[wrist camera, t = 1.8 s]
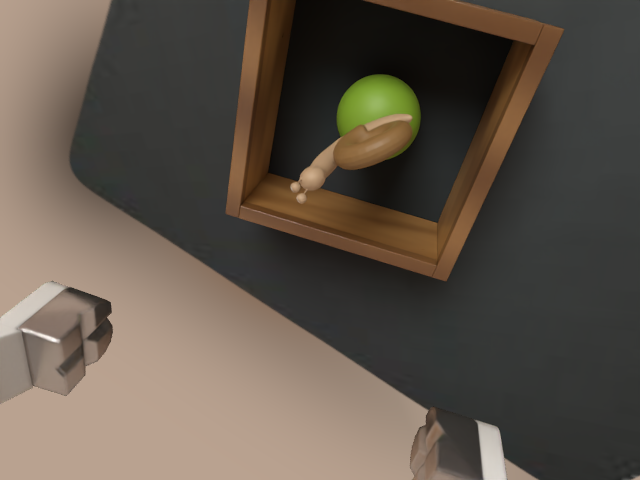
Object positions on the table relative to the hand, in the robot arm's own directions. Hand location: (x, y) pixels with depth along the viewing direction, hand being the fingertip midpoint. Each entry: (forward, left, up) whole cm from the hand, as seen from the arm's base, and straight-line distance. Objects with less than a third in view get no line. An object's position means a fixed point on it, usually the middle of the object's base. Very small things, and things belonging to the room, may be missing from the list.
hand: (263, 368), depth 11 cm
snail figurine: (0, 0, -25) cm, 25 cm away
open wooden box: (0, 0, -25) cm, 25 cm away
